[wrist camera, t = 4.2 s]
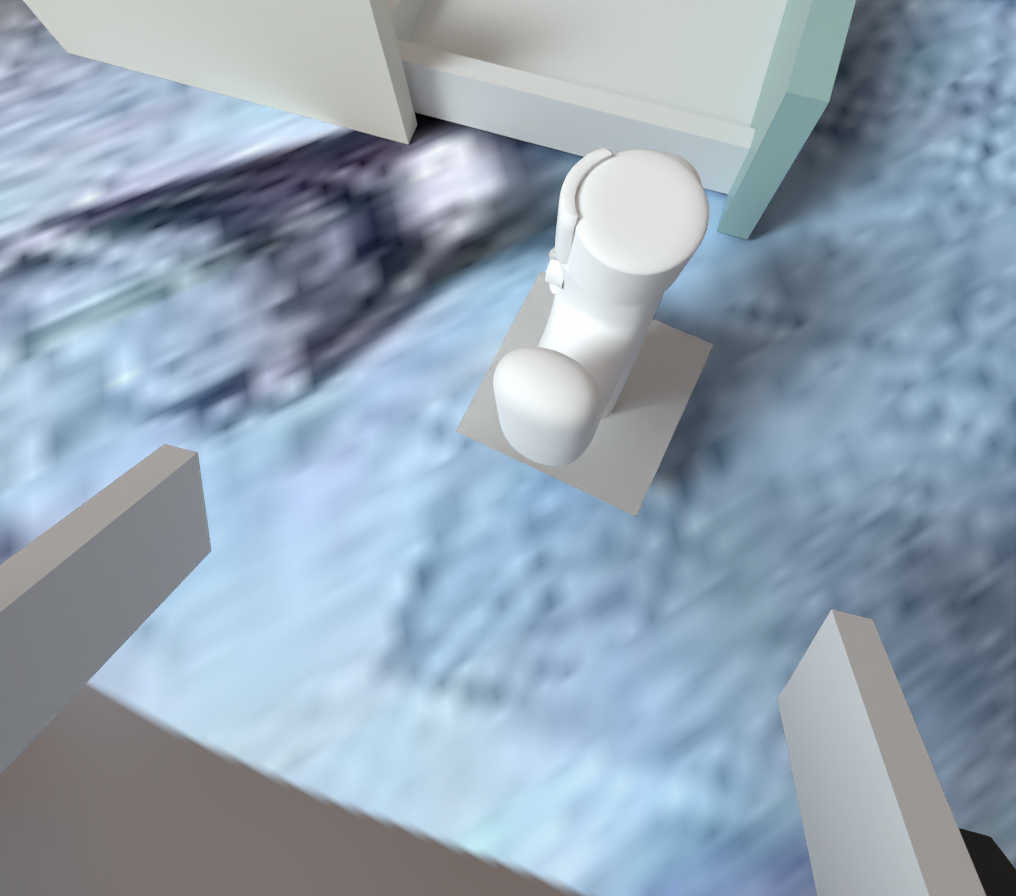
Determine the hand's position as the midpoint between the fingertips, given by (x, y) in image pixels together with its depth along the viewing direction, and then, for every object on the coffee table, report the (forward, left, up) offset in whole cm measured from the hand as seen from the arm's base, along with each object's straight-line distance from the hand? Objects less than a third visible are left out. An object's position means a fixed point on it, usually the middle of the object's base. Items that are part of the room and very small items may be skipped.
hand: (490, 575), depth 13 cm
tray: (+20, -20, -13) cm, 31 cm away
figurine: (+4, -7, -13) cm, 15 cm away
